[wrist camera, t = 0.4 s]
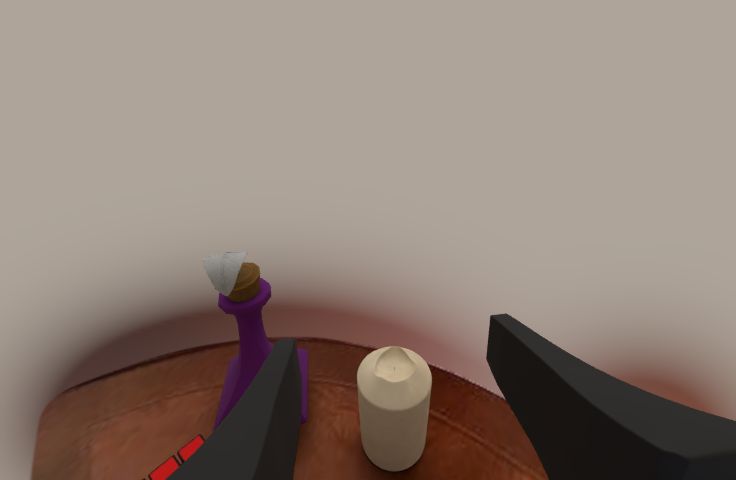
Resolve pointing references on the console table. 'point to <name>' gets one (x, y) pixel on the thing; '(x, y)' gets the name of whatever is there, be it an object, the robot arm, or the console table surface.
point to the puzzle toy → (172, 463)
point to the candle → (393, 406)
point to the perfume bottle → (245, 326)
